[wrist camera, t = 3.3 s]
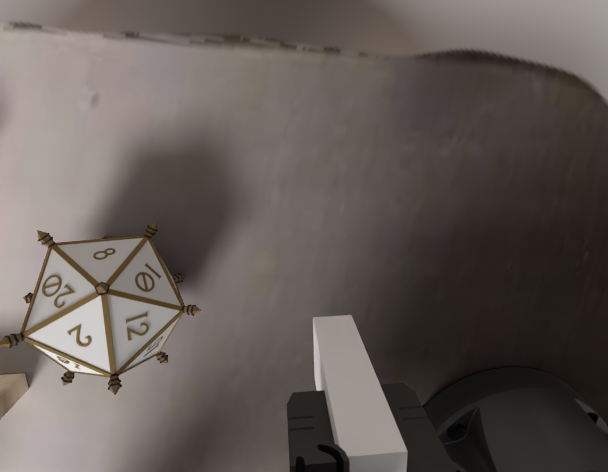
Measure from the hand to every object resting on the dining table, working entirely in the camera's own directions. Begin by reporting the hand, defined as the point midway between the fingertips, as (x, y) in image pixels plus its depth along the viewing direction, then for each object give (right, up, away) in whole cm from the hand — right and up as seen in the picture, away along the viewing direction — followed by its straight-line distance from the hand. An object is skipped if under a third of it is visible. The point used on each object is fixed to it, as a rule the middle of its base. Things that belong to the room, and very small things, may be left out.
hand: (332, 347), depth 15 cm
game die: (-12, +2, +9) cm, 15 cm away
